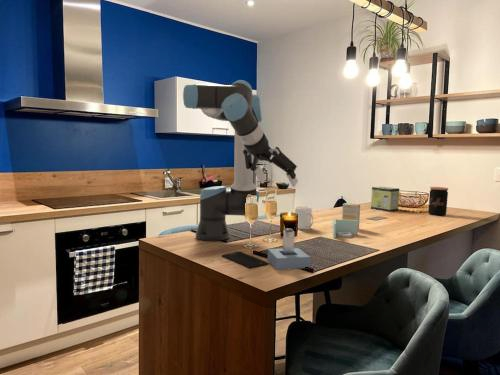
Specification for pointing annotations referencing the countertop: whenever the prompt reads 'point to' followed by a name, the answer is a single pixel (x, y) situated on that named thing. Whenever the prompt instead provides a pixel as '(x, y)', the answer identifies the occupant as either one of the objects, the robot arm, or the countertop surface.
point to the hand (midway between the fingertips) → (279, 182)
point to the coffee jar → (438, 201)
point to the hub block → (288, 259)
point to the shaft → (288, 242)
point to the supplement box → (351, 212)
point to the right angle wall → (344, 228)
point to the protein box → (385, 199)
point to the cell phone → (245, 260)
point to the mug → (304, 217)
